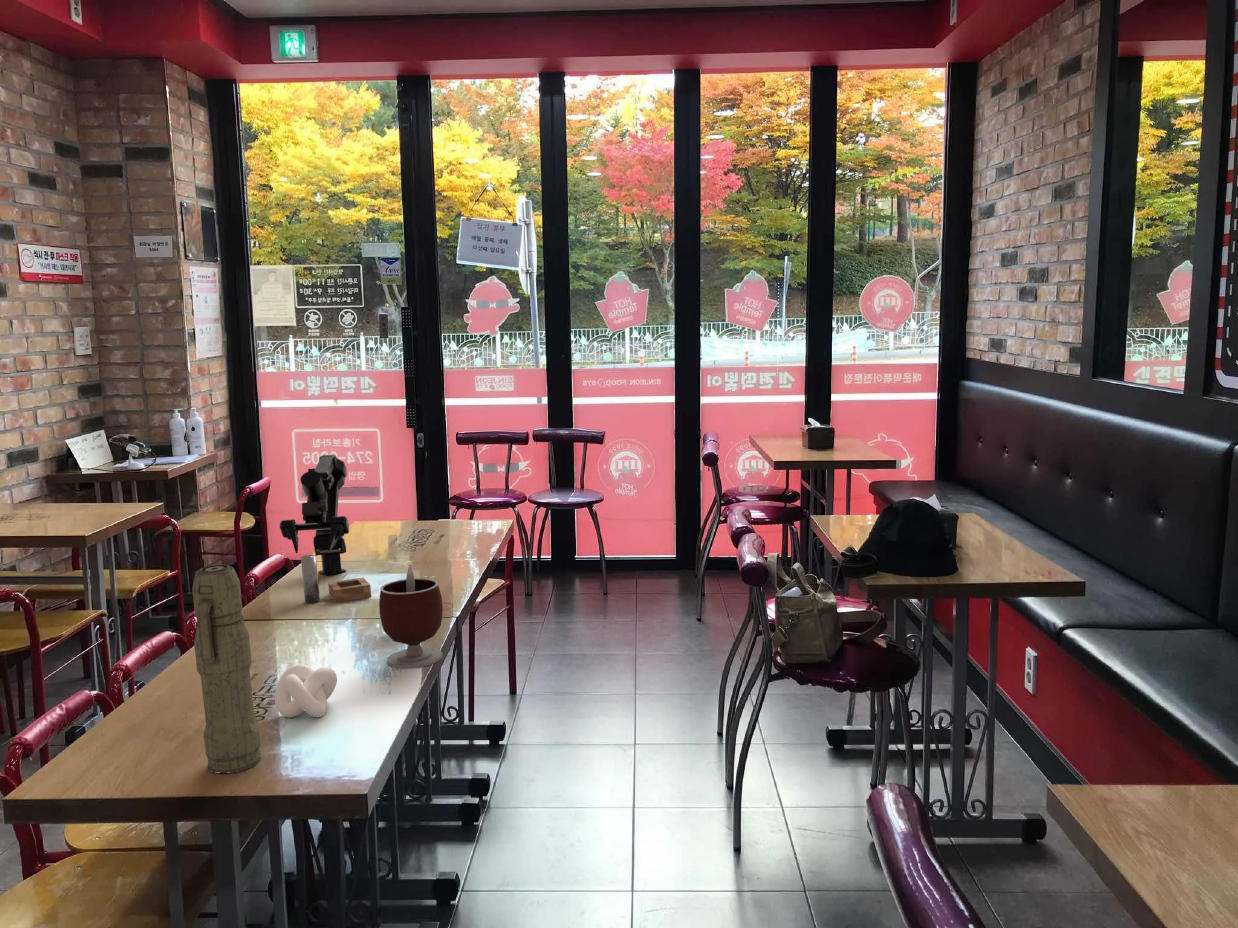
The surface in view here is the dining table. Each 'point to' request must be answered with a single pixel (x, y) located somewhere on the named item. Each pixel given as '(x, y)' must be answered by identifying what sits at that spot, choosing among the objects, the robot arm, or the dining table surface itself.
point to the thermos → (224, 671)
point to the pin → (310, 579)
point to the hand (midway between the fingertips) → (312, 551)
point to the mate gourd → (411, 619)
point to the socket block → (349, 589)
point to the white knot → (304, 690)
